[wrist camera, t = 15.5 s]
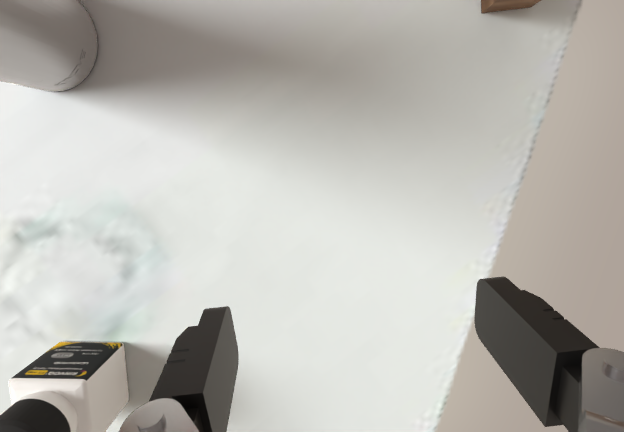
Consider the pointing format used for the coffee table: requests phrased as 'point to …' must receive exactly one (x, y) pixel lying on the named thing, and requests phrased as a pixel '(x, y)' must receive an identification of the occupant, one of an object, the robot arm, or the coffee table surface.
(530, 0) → the block
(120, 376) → the medicine bottle
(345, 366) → the coffee table surface
